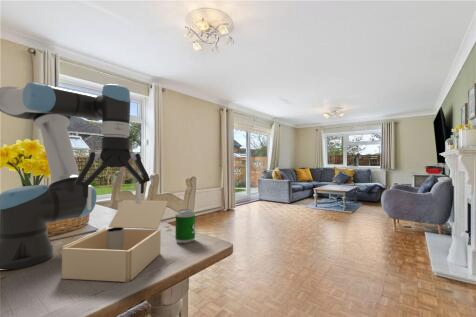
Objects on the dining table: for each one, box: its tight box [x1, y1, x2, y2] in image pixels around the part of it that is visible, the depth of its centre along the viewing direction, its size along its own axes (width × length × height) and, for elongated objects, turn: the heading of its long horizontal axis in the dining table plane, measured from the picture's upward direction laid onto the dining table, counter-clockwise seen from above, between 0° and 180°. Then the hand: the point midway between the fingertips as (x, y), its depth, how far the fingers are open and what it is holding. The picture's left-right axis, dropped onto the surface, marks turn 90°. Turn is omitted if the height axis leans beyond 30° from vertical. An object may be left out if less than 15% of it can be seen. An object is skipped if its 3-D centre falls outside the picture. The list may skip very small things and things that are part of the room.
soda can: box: [175, 208, 196, 244], centre depth 93 cm, size 8×8×12 cm
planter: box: [107, 227, 125, 250], centre depth 72 cm, size 4×4×10 cm
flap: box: [108, 199, 169, 230], centre depth 86 cm, size 18×1×12 cm
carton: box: [61, 227, 162, 283], centre depth 72 cm, size 20×20×8 cm
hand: (114, 206), depth 72 cm, fingers open, 13 cm apart
